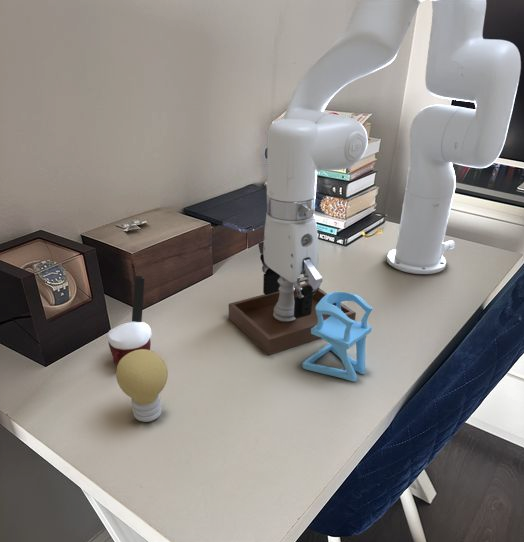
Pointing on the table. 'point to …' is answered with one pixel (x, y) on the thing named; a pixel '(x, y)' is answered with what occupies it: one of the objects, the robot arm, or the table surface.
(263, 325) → the tray
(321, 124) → the robot arm
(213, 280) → the table surface
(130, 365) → the light bulb
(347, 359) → the chair
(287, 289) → the rook chess piece
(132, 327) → the cocoa
